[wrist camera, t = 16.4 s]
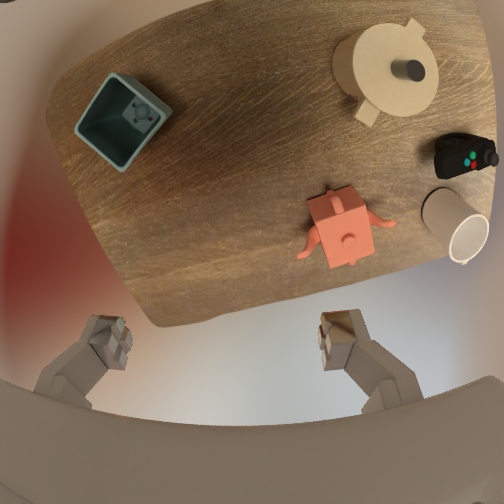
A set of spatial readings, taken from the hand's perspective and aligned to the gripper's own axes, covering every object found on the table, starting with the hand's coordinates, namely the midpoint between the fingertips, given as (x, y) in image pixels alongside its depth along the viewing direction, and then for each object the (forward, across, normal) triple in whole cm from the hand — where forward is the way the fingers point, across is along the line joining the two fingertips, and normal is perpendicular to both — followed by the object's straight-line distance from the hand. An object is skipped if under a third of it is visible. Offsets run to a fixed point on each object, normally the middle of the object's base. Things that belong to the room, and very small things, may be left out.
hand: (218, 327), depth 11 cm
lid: (+23, -18, -11) cm, 31 cm away
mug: (+31, -34, +12) cm, 48 cm away
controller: (+31, -32, -1) cm, 45 cm away
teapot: (+31, -14, +12) cm, 36 cm away
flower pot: (+31, +13, -6) cm, 34 cm away
